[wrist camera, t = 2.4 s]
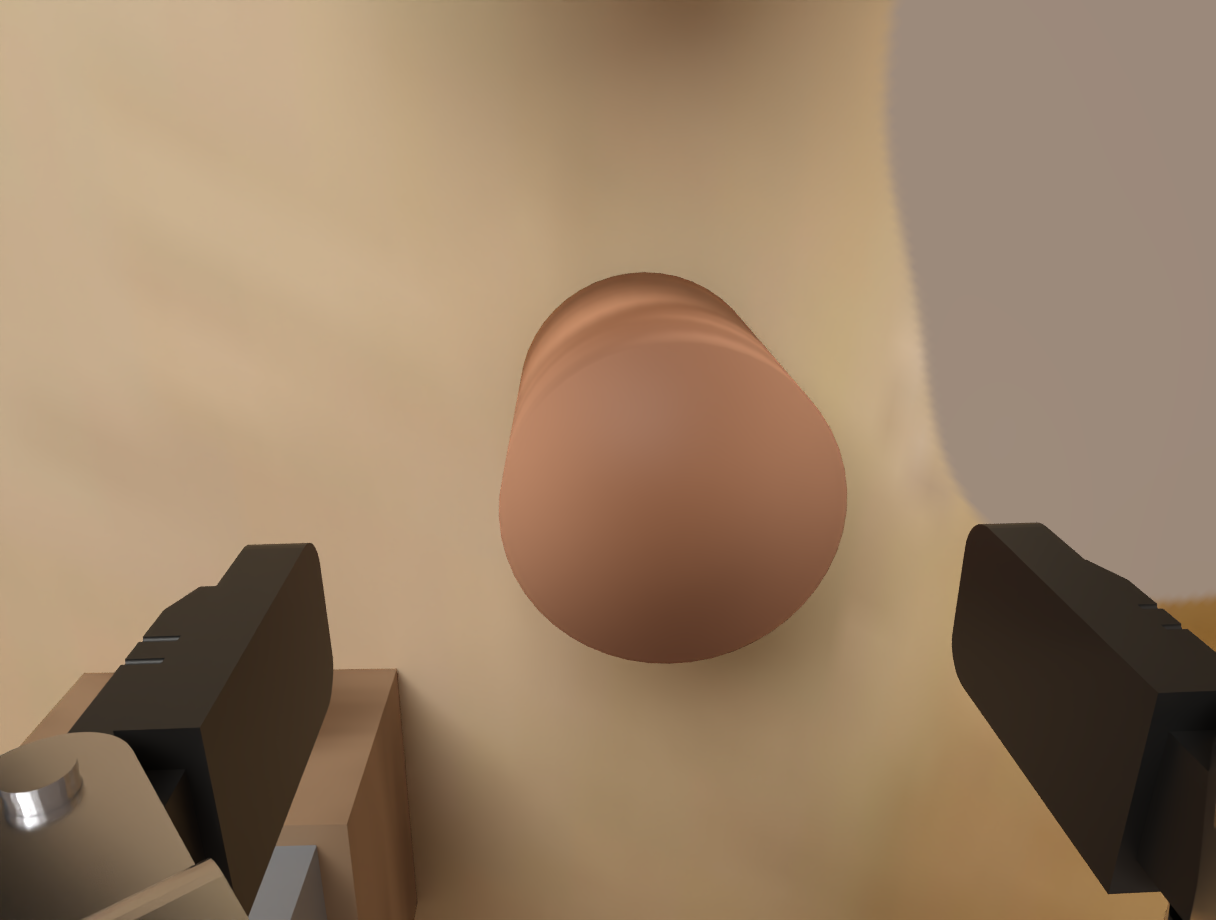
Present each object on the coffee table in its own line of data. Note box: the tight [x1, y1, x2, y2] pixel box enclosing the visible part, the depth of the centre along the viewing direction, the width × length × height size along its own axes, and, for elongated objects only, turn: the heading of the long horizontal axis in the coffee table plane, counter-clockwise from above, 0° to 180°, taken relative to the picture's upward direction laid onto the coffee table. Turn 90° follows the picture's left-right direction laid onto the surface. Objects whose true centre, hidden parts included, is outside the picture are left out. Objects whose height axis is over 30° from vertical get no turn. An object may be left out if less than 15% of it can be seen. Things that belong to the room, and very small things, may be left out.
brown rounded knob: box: [499, 272, 847, 664], centre depth 16 cm, size 5×5×6 cm
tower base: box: [20, 669, 417, 920], centre depth 20 cm, size 7×7×5 cm
